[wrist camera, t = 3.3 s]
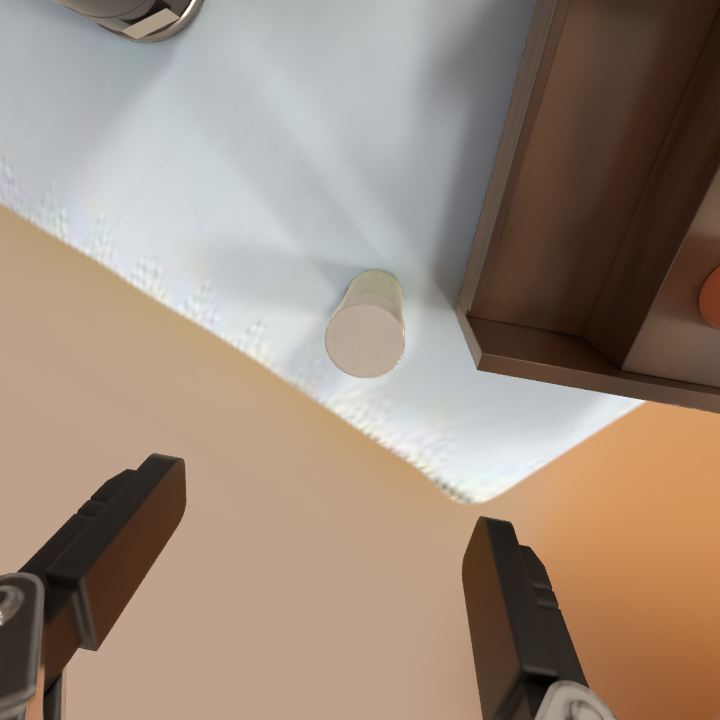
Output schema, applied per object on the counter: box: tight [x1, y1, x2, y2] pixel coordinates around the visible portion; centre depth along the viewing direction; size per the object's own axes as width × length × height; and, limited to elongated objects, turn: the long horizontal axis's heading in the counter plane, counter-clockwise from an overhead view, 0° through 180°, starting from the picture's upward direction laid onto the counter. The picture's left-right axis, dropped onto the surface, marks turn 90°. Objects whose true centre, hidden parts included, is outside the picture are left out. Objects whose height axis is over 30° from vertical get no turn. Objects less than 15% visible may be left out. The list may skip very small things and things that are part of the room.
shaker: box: [325, 270, 405, 378], centre depth 26 cm, size 4×4×9 cm
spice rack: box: [455, 0, 720, 414], centre depth 20 cm, size 15×22×10 cm
